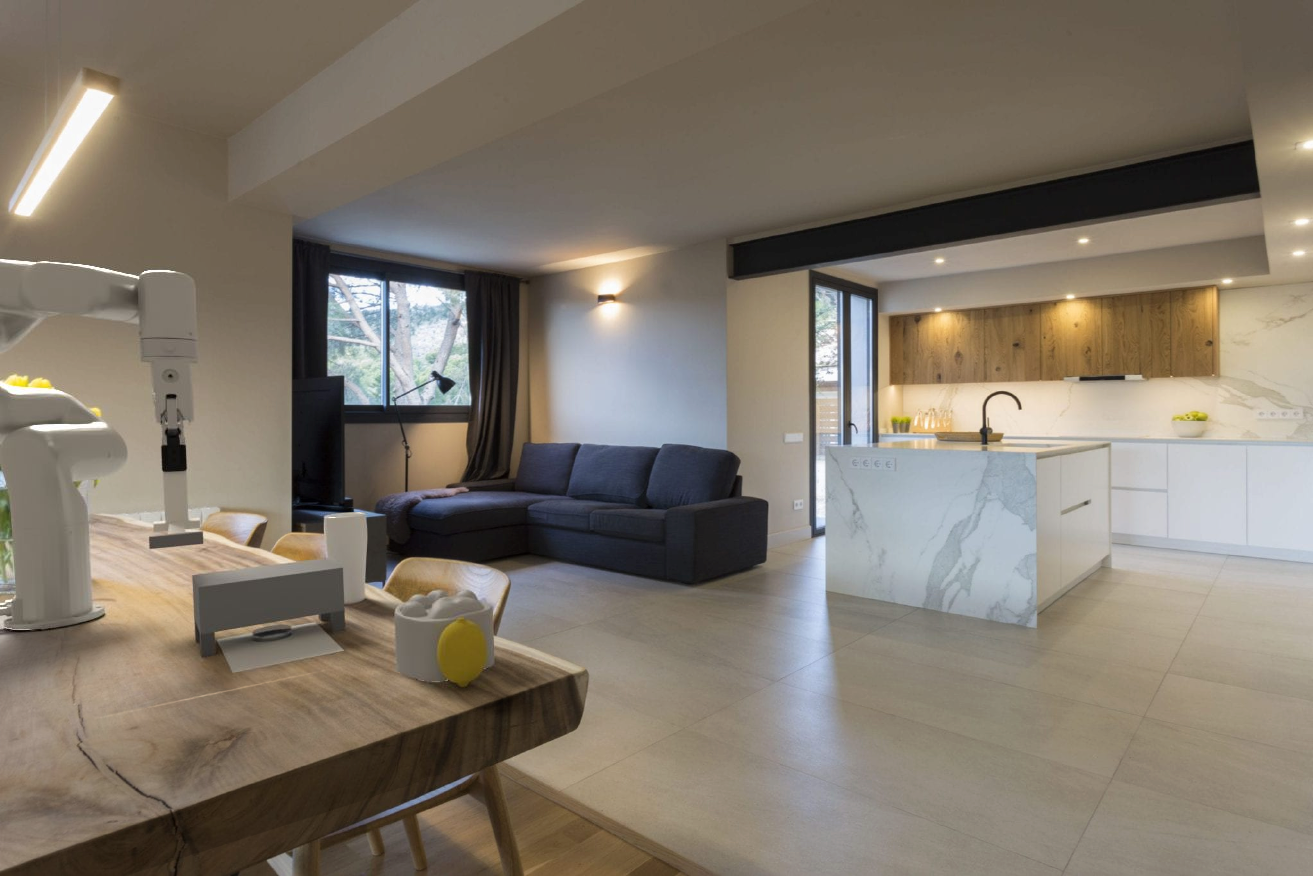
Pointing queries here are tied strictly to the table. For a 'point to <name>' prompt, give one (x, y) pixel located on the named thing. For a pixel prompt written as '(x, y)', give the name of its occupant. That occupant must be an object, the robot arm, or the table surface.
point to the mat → (277, 648)
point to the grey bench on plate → (266, 597)
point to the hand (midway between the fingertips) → (174, 469)
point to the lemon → (462, 652)
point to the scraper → (175, 515)
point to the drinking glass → (348, 550)
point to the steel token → (271, 633)
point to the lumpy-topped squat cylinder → (436, 630)
